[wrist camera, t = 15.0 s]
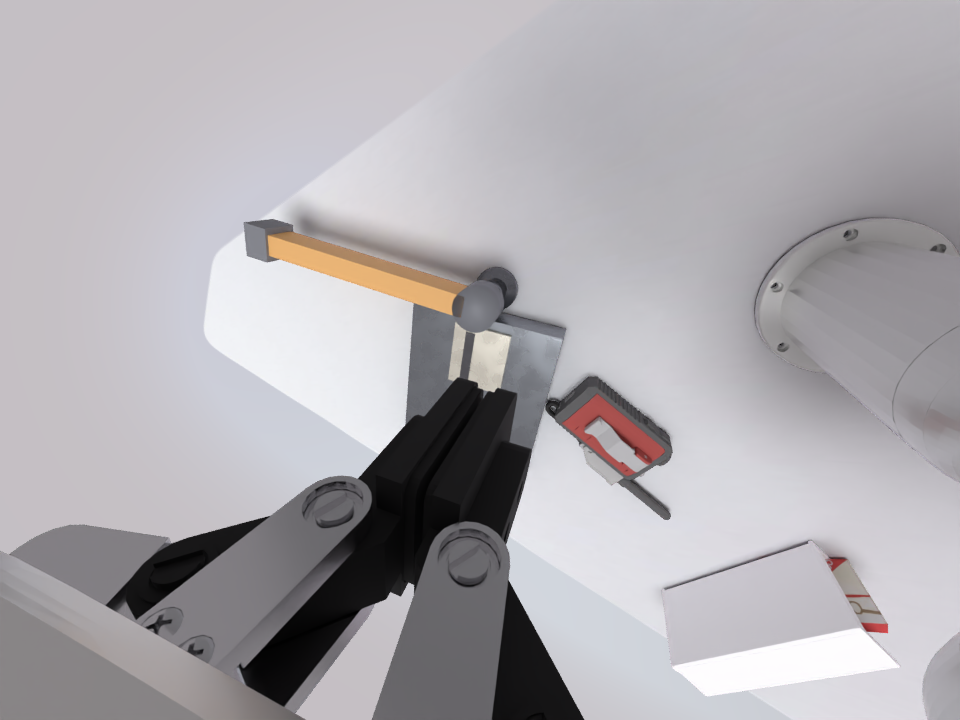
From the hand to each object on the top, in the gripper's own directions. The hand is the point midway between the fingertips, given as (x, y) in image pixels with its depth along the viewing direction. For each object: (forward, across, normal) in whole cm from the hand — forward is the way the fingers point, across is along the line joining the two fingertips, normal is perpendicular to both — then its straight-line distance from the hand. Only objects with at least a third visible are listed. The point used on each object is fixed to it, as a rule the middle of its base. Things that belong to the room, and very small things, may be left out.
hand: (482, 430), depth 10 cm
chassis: (+29, +8, +17) cm, 35 cm away
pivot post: (+29, +8, +5) cm, 31 cm away
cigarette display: (+30, -28, +34) cm, 54 cm away
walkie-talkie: (+30, -10, +20) cm, 38 cm away
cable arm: (+24, +18, +4) cm, 31 cm away
